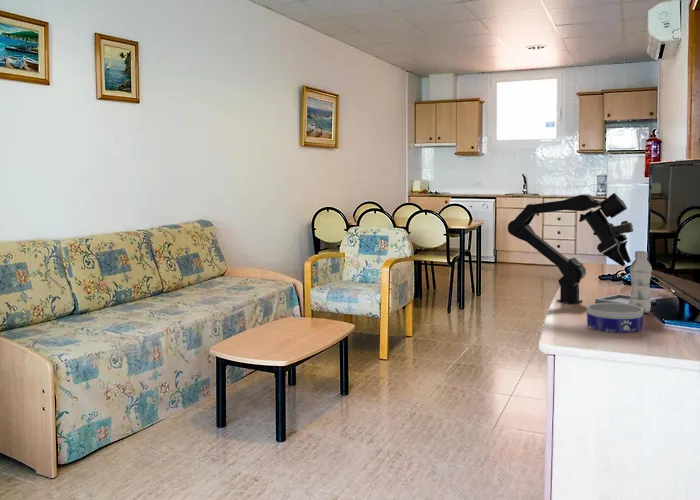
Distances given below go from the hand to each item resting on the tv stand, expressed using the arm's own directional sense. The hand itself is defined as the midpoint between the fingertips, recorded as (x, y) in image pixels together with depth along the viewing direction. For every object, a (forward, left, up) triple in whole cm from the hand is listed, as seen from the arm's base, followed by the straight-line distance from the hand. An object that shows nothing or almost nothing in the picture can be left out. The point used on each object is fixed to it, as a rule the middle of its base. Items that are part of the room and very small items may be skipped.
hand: (626, 264), depth 206 cm
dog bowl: (-29, -15, -15) cm, 36 cm away
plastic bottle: (-6, -9, -15) cm, 18 cm away
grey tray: (+5, +3, -15) cm, 16 cm away
